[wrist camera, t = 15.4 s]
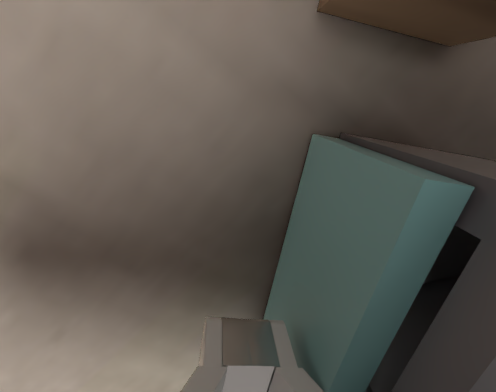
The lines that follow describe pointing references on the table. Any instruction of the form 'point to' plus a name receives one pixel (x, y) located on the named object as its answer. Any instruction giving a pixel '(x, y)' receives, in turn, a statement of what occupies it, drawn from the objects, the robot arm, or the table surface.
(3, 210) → the table surface
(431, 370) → the grey drawer box
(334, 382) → the tray
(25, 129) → the table surface
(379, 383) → the disc
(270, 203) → the table surface
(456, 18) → the walnut block
